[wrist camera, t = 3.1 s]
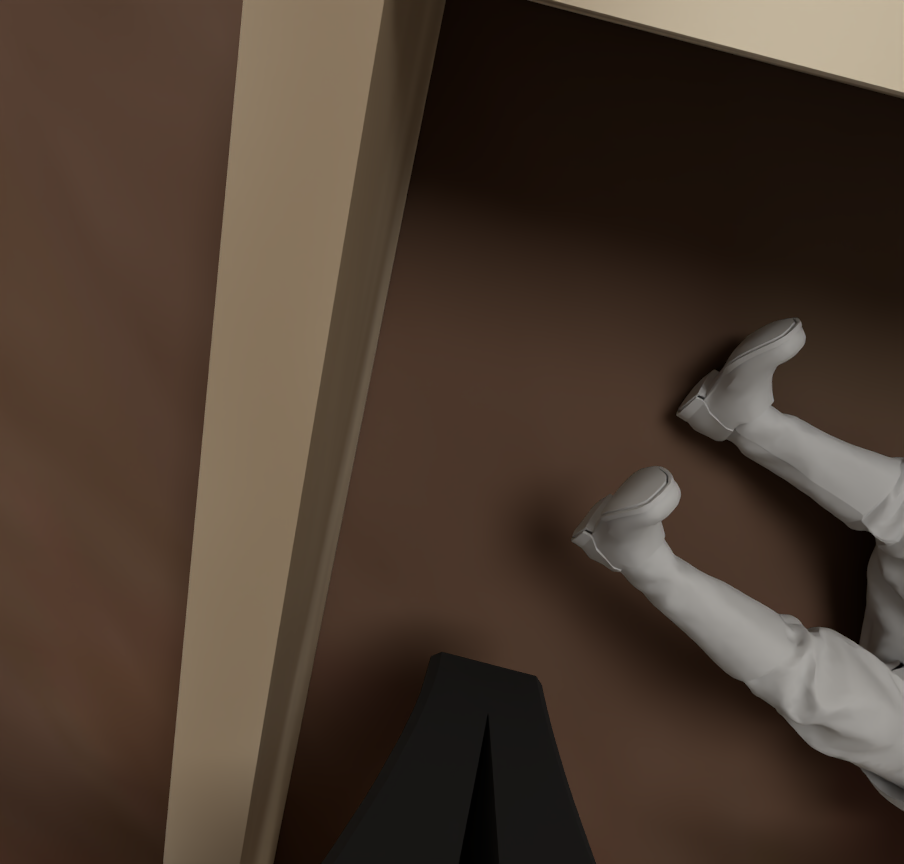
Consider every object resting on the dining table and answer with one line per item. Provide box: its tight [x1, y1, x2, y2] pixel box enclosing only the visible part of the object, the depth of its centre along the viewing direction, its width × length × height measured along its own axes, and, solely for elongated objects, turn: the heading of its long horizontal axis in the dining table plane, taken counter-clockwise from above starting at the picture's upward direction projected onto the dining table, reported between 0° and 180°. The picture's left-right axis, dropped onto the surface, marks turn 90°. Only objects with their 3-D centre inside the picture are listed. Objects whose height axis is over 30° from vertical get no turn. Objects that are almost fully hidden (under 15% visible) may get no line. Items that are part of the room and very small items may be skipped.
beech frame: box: [163, 0, 904, 864], centre depth 11 cm, size 15×18×4 cm
